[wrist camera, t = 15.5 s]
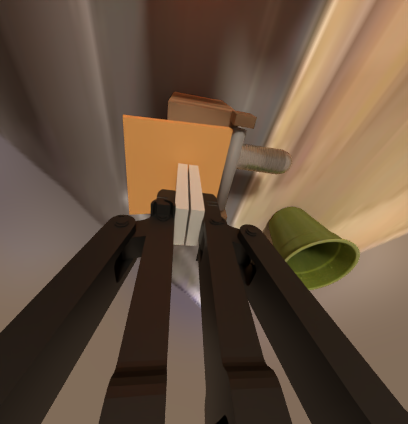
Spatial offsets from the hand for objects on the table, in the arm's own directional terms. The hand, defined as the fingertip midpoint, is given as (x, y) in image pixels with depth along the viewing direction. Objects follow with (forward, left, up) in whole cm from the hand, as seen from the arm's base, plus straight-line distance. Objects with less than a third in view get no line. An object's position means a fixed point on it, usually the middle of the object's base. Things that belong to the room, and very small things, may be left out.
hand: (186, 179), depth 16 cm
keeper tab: (0, 0, -1) cm, 1 cm away
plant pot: (+13, +21, -13) cm, 28 cm away
